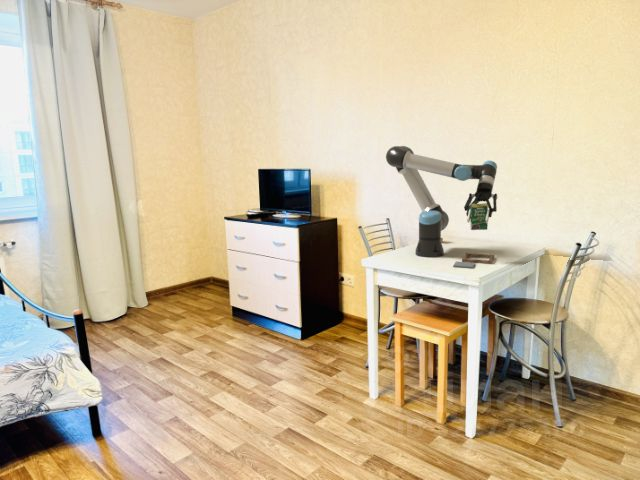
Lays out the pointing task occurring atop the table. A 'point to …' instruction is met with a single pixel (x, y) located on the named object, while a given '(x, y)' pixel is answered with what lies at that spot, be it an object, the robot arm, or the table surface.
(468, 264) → the mat
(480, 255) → the brown flat square frame
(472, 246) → the table surface
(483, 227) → the coffee box
